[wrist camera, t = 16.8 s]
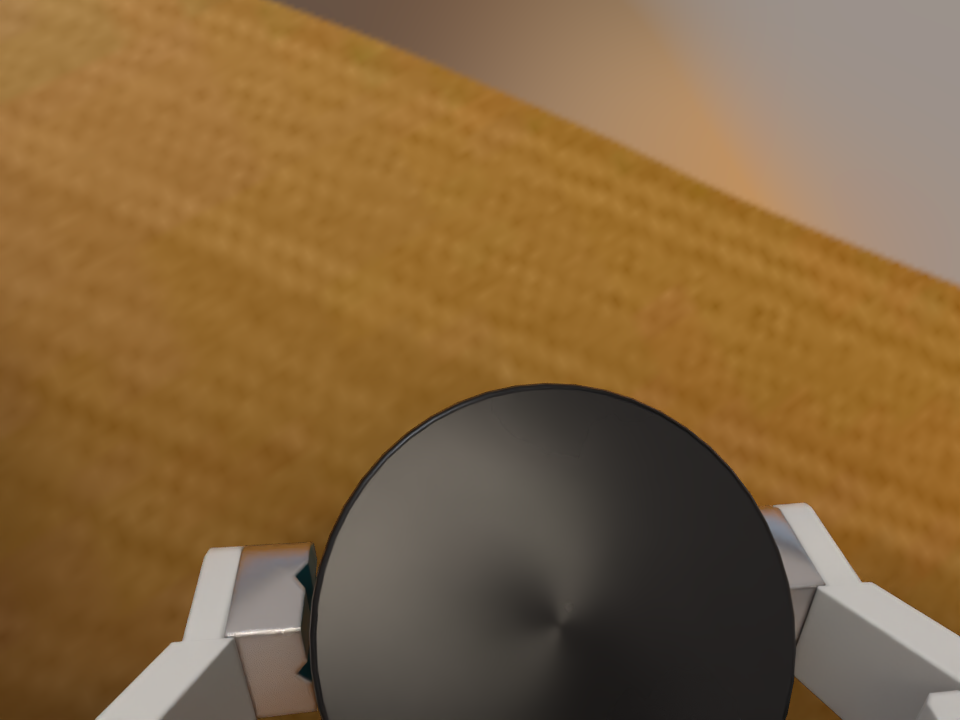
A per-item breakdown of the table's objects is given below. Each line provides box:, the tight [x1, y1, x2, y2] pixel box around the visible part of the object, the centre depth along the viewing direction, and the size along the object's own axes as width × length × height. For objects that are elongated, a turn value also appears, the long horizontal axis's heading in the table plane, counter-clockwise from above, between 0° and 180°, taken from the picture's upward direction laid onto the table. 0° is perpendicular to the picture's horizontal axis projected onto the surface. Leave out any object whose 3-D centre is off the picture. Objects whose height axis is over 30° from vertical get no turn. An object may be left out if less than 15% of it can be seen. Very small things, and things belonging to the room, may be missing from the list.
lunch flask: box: [309, 383, 796, 720], centre depth 12 cm, size 5×5×8 cm
